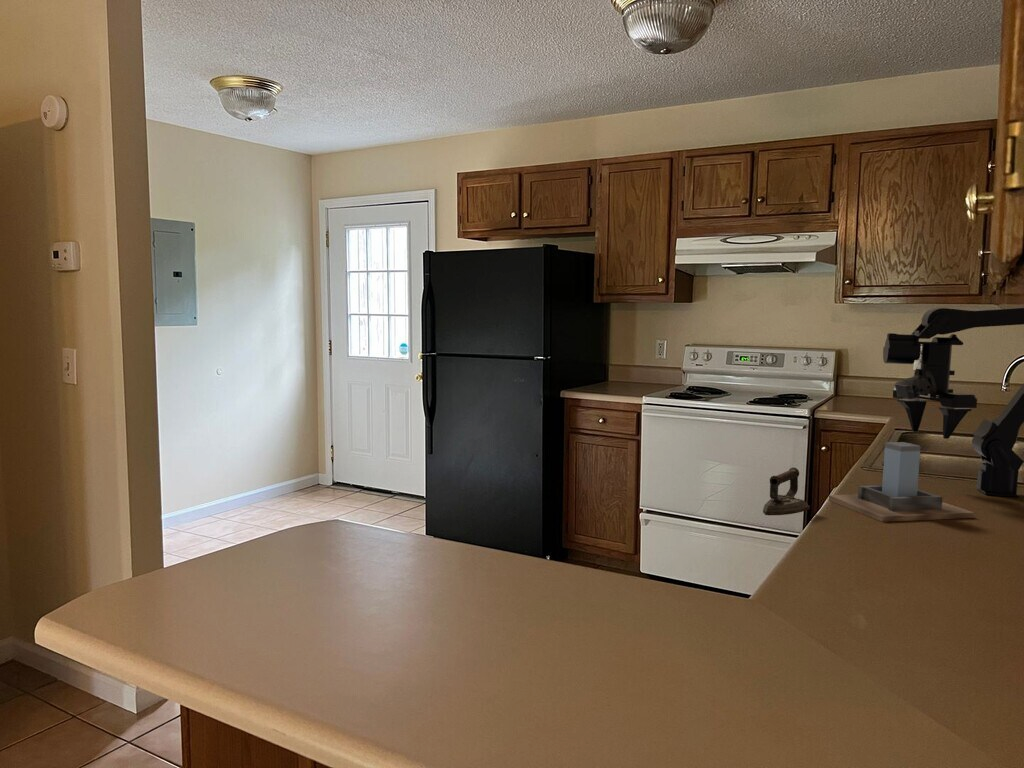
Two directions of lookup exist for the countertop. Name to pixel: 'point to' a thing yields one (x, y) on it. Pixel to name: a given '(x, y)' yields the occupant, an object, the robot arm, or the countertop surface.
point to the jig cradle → (899, 505)
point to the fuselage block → (901, 469)
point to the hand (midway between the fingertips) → (930, 434)
